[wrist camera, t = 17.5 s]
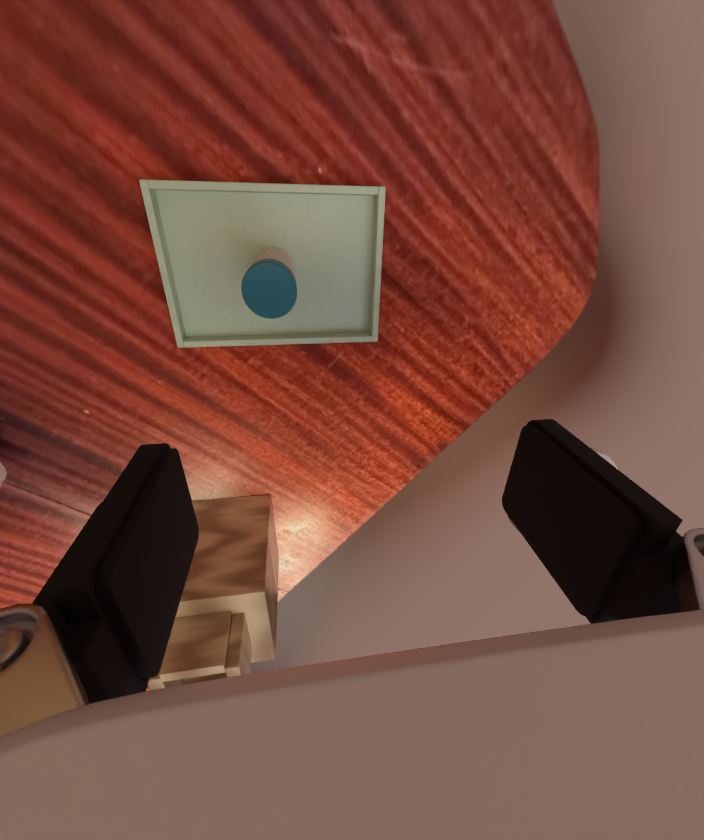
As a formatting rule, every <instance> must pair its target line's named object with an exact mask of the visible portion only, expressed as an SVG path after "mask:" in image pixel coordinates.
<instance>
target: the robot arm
mask: <svg viewBox="0 0 704 840" xmlns="http://www.w3.org/2000/svg"><path fill="white" fill-rule="evenodd" d="M502 505H503V508H504V510H505V512H506V513H507V514H508V516H509V517H510V519H511V520H512V521H513V523H514V524H515V526H516V527H517V528H518V530H519V531H520V532H521V534H522V535H523V536H524V538H525V539H526V541H527V542H528V544H529V545H530V546H531V548H532V549H533V550H534V552H535V553H536V555H537V556H538V557H539V559H540V560H541V562H542V563H543V564H544V566H545V567H546V569H547V570H548V571H549V573H550V574H551V576H552V577H553V578H554V580H555V581H556V582H557V584H558V585H559V587H560V588H561V589H562V591H563V592H564V594H565V595H566V596H567V598H568V599H569V601H570V602H571V603H572V605H573V606H574V607H575V609H576V610H577V611H578V612H579V613H580V614H581V615H583V616H586V618H587V619H588V620H589V622H590V623H591V624H587V625H580V626H573V627H567V628H559V629H551V630H544V631H537V632H530V633H523V634H516V635H509V636H503V637H495V638H488V639H481V640H474V641H467V642H460V643H453V644H447V645H440V646H434V647H426V648H419V649H413V650H405V651H399V652H392V653H385V654H378V655H371V656H365V657H359V658H351V659H345V660H339V661H332V662H325V663H318V664H312V665H305V666H298V667H292V668H285V669H278V670H272V671H265V672H259V673H252V674H245V675H239V676H233V677H227V678H221V679H215V680H209V681H204V682H198V683H192V684H186V685H180V686H174V687H168V688H162V689H156V690H150V691H146V689H147V685H148V682H149V679H150V678H151V677H156V676H157V675H158V673H159V671H160V668H161V665H162V662H163V658H164V655H165V651H166V648H167V645H168V641H169V638H170V634H171V631H172V627H173V624H174V621H175V617H176V614H177V610H178V607H179V604H180V600H181V597H182V593H183V590H184V587H185V583H186V580H187V576H188V573H189V570H190V566H191V563H192V559H193V556H194V552H195V549H196V546H197V542H198V538H199V527H198V522H197V519H196V515H195V511H194V508H193V504H192V500H191V496H190V493H189V489H188V485H187V482H186V478H185V474H184V470H183V467H182V463H181V459H180V456H179V452H178V450H177V449H175V448H174V449H171V448H170V446H169V445H168V444H167V443H163V444H147V445H141V446H140V447H139V448H138V450H137V451H136V453H135V454H134V456H133V457H132V459H131V460H130V462H129V463H128V465H127V466H126V468H125V469H124V471H123V472H122V474H121V475H120V477H119V478H118V480H117V481H116V483H115V484H114V486H113V488H112V489H111V491H110V492H109V494H108V495H107V497H106V498H105V500H104V501H103V502H102V503H100V505H99V506H98V507H97V508H96V510H95V511H94V512H93V514H92V515H91V517H90V518H89V520H88V521H87V523H86V524H85V526H84V527H83V529H82V530H81V532H80V533H79V535H78V536H77V538H76V539H75V541H74V542H73V544H72V545H71V547H70V548H69V550H68V551H67V553H66V554H65V555H64V557H63V558H62V560H61V561H60V563H59V564H58V566H57V567H56V569H55V570H54V572H53V573H52V575H51V576H50V578H49V579H48V581H47V582H46V584H45V585H44V587H43V588H42V590H41V591H40V593H39V594H38V596H37V597H36V599H35V600H34V601H33V603H31V604H16V605H12V606H9V607H5V608H1V609H0V840H704V528H696V529H691V530H689V531H688V532H686V533H685V535H684V536H683V537H682V536H680V535H679V534H678V533H677V532H676V530H677V528H678V527H679V525H680V523H681V522H682V519H680V518H679V517H678V516H677V515H675V514H674V513H673V512H671V511H670V510H669V509H668V508H666V507H665V506H664V505H663V504H661V503H660V502H659V501H657V500H656V499H655V498H654V497H652V496H651V495H649V494H648V493H647V492H646V491H645V490H643V489H642V488H641V487H639V486H638V485H637V484H636V483H634V482H633V481H632V480H630V479H629V478H628V477H627V476H625V475H624V474H623V473H621V472H620V471H619V470H618V469H616V468H615V467H614V466H612V465H611V464H610V463H609V462H607V461H606V460H605V459H603V458H602V457H601V456H600V455H598V454H597V453H596V452H595V451H593V450H592V449H591V448H589V447H588V446H587V445H585V444H584V443H583V442H582V441H580V440H579V439H578V438H576V437H575V436H574V435H573V434H571V433H570V432H569V431H568V430H566V429H565V428H564V427H562V426H561V425H560V424H559V423H557V422H556V421H554V420H552V419H546V420H532V421H529V422H528V424H527V425H526V426H524V427H523V428H522V430H521V433H520V437H519V440H518V444H517V447H516V451H515V455H514V458H513V462H512V465H511V469H510V472H509V476H508V479H507V483H506V486H505V490H504V493H503V497H502Z"/></svg>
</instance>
